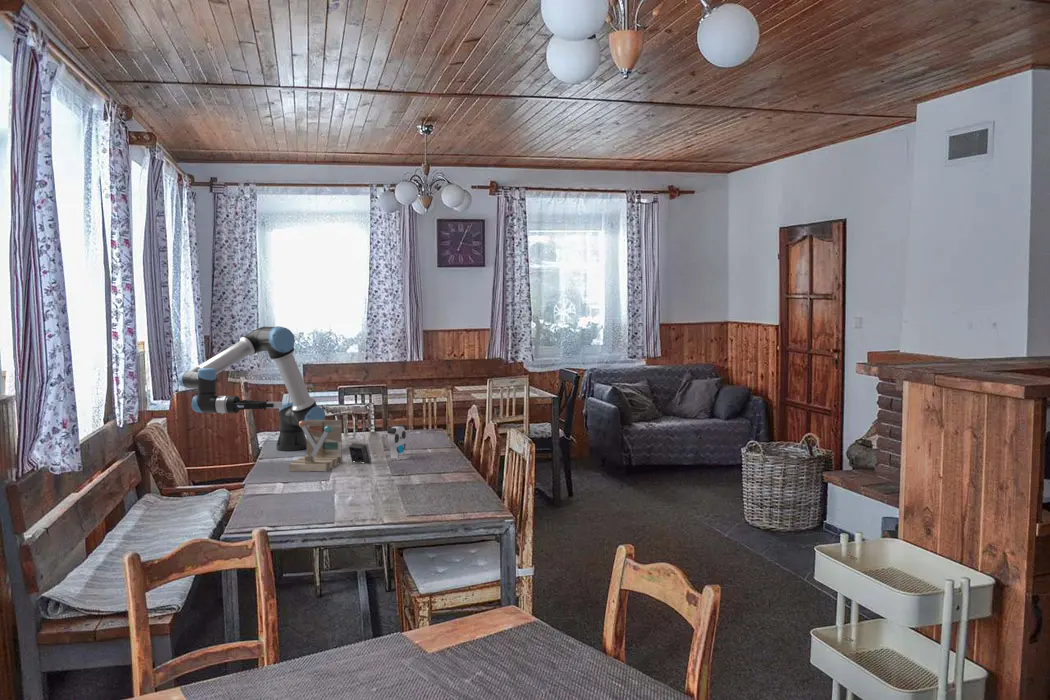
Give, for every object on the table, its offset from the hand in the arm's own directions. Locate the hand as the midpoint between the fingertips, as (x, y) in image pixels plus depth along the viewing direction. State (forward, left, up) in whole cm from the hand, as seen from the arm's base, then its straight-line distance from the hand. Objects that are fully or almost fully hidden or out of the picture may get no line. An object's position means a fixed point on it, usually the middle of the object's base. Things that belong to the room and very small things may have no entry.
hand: (281, 405), depth 356 cm
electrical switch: (-17, +29, -28) cm, 44 cm away
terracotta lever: (-13, +12, -24) cm, 30 cm away
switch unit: (-7, +12, -28) cm, 31 cm away
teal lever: (+1, +12, -24) cm, 27 cm away
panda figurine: (-28, +43, -28) cm, 59 cm away
